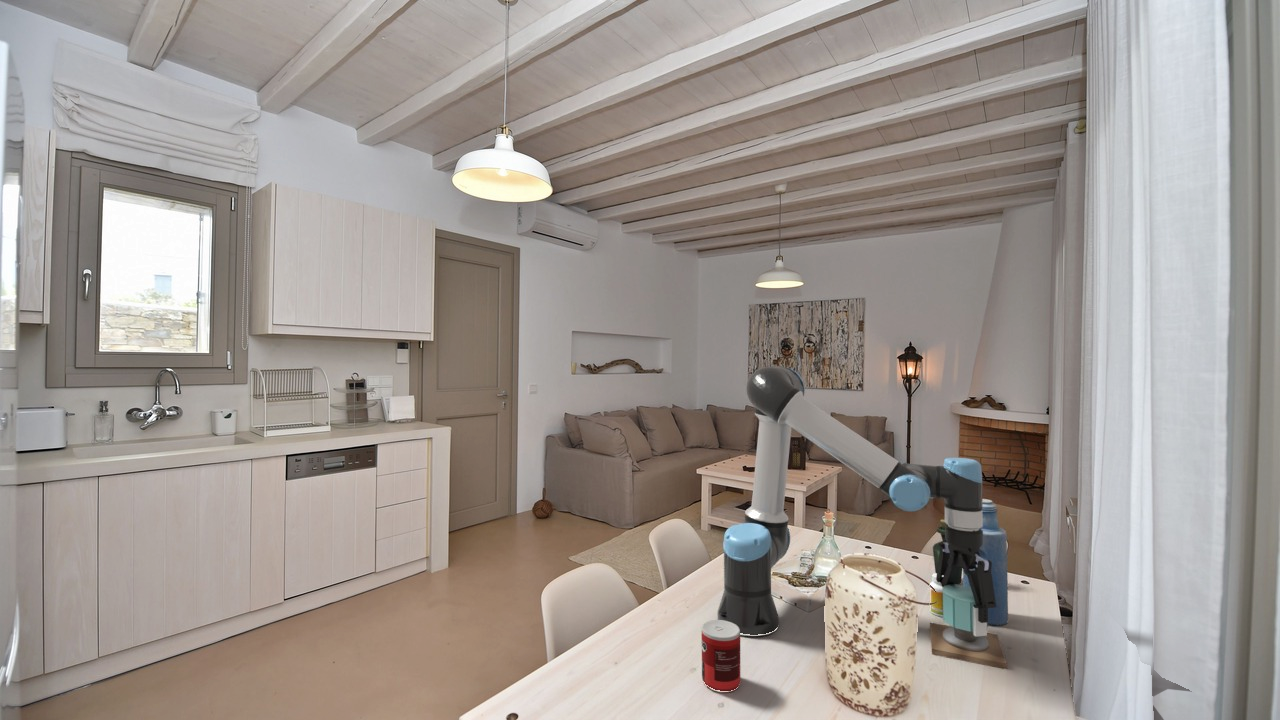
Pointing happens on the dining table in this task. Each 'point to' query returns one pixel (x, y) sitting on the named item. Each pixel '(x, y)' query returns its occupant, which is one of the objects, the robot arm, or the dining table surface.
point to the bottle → (994, 562)
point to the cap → (958, 606)
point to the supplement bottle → (936, 597)
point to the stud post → (966, 646)
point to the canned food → (721, 655)
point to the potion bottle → (937, 552)
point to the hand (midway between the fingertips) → (964, 625)
